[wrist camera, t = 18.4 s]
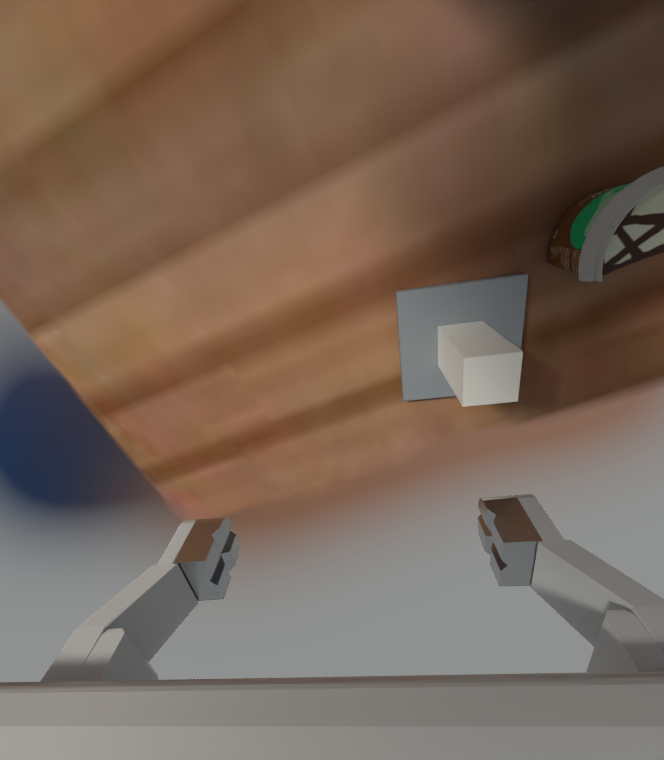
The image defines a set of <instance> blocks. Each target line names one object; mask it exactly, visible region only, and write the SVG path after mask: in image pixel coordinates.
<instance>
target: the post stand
mask: <svg viewBox="0 0 664 760" xmlns="http://www.w3.org/2000/svg"><path fill="white" fill-rule="evenodd" d="M528 275H529V274H525V273H521V274H514V275H507V276H500V277H492V278H485V279H478V280H471V281H464V282H456V283H449V284H442V285H435V286H427V287H420V288H413V289H406V290H398V291H396V304H397V320H398V335H399V350H400V365H401V381H402V396H403V401H410V400H420V399H430V398H440V397H450V396H456V395H455V393H454V391H453V390H452V388H451V386H450V385H449V383H448V381H447V380H446V378H445V376H444V375H443V373H442V371H441V370H440V368H439V366H438V326H445V325H453V324H461V323H469V322H477V321H483V322H485V323H486V324H487V325H489V326H490V327H491V328H493V329H494V330H495V331H497V332H498V333H499V334H500V335H502V336H503V337H504V338H506V339H507V340H508V341H510V342H511V343H512V344H514V345H515V346H516V347H518V348H519V349H520V350H521V345H522V335H523V325H524V315H525V305H526V295H527V285H528Z"/></svg>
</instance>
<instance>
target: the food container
mask: <svg viewBox="0 0 664 760" xmlns="http://www.w3.org/2000/svg"><path fill="white" fill-rule="evenodd" d="M662 252H664V166H663V167H660V168H658V169H655V170H653V171H651V172H649V173H647V174H645V175H643V176H641V177H640V178H638V179H637V180H635V181H634V182H632V183H629V184H625V185H620V186H616V187H612V188H608V189H604V190H600V191H596V192H594V193H591V194H588V195H586V196H585V197H583V198H581V199H579V200H578V201H577V202H575V203H574V204H573V205H572V206H570V207H569V208H568V209H567V210H566V211H565V213H564V214H563V215H562V216H561V217H560V219H559V220H558V222H557V223H556V225H555V227H554V229H553V231H552V234H551V237H550V239H549V244H548V253H547V257H548V263H549V264H552V265H555V266H557V267H560V268H563V269H565V270H568V271H571V272H574V273H576V274H578V275H579V281H587V282H594V281H599V282H602V275H605V274H608V273H610V272H612V271H614V270H616V269H619V268H621V267H624V266H626V265H629V264H631V263H634V262H637V261H639V260H642V259H645V258H647V257H650V256H653V255H656V254H659V253H662Z"/></svg>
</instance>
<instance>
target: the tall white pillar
mask: <svg viewBox="0 0 664 760" xmlns="http://www.w3.org/2000/svg"><path fill="white" fill-rule="evenodd" d="M522 357H523V351H522V350H520V349H519V348H518V347H516V346H515V345H514V344H512V343H511V342H510V341H508V340H507V339H506V338H504V337H503V336H502V335H500V334H499V333H498V332H497V331H495V330H494V329H493V328H491V327H490V326H489V325H487V324H486V323H485V322H483V321H477V322H469V323H461V324H453V325H445V326H438V366H439V368H440V370H441V371H442V373H443V375H444V376H445V378H446V380H447V381H448V383H449V385H450V386H451V388H452V390H453V391H454V393H455V395H456V396H457V398H458V400H459V401H460V403H461V405H462V406H463V407H465V406H475V405H486V404H496V403H507V402H517V401H518V396H519V386H520V376H521V367H522Z"/></svg>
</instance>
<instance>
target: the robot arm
mask: <svg viewBox="0 0 664 760" xmlns="http://www.w3.org/2000/svg"><path fill="white" fill-rule="evenodd" d="M478 508H479V510H480V512H481V515H480V516H479V517H478V530H479V536H480V539H481V542H482V545H483V548H484V550H485V551H486V552H487V553H489V554H490V555H491V559H490V565H491V567H492V570H493V572H494V574H495V577H496V579H497V582H498V584H499V586H531V588H532V589H533V590H534V591H535V592H536V593H537V594H539V595H540V596H541V597H542V598H543V599H544V600H545V601H546V602H547V603H548V604H549V605H550V606H551V607H552V608H554V610H556V611H557V612H558V613H559V614H560V615H561V616H562V617H563V618H564V619H565V620H566V621H567V622H569V624H570V625H571V626H573V627H574V628H575V629H576V630H577V631H578V632H579V633H580V634H581V635H582V636H583V637H584V638H585V639H587V641H589V642H590V643H591V644H592V645H593V646H594V651H593V653H592V656H591V660H590V663H589V665H588V668H587V673H542V674H541V673H538V674H537V673H536V674H482V675H481V674H478V675H477V674H476V675H419V676H418V675H416V676H360V677H358V676H357V677H356V676H355V677H302V678H301V677H299V678H298V677H297V678H243V679H186V680H158V676H157V673H156V672H155V671H154V669H153V668H152V667H151V665H150V664H149V663H148V662H149V661H150V660H151V659H152V658H153V656H154V655H155V654H156V653H157V652H158V650H159V649H160V648H161V647H162V645H163V644H164V643H165V642H166V641H167V640H168V638H169V637H170V636H171V635H172V633H173V632H174V631H175V630H176V629H177V628H178V626H179V625H180V624H181V623H182V622H183V620H184V619H185V618H186V617H187V616H188V614H189V613H190V612H191V611H192V610H193V608H194V607H195V606H196V605H197V603H198V601H204V600H217V599H224V597H225V594H226V591H227V588H228V585H229V582H230V579H231V577H230V574H229V571H230V570H231V569H232V568H233V566H235V564H236V561H237V558H238V551H239V544H238V539H237V536H236V534H234V533H233V532H231V531H230V530H231V527H232V524H231V522H230V520H229V518H214V519H198V520H185V521H183V522H182V523H181V524H180V526H179V527H178V529H177V531H176V533H175V534H174V536H173V538H172V540H171V541H170V543H169V545H168V547H167V549H166V551H165V552H164V554H163V555H162V557H161V559H160V561H159V563H158V564H157V565H153V566H151V567H150V568H149V569H148V570H146V571H145V572H144V573H143V574H142V575H140V576H139V577H138V578H137V579H135V580H134V581H133V582H132V583H131V584H129V585H128V586H127V587H126V588H125V589H123V590H122V591H121V592H120V593H119V594H118V595H116V596H115V597H114V598H112V599H111V600H110V601H109V602H108V603H106V604H105V605H104V606H103V607H102V608H100V609H99V610H98V611H97V612H96V613H94V614H93V615H92V616H91V617H89V618H88V619H87V620H86V621H85V622H83V623H82V624H81V625H80V626H78V627H77V628H76V629H75V631H74V633H73V634H72V635H71V637H70V638H69V640H68V641H67V643H66V644H65V646H64V647H63V649H62V650H61V652H60V653H59V655H58V656H57V658H56V659H55V661H54V662H53V663H52V665H51V666H50V668H49V670H48V671H47V672H46V674H45V675H44V677H43V678H42V680H41V681H40V682H4V683H3V682H1V683H0V760H664V599H663V598H661V597H660V596H658V595H657V594H655V593H653V592H652V591H650V590H649V589H647V588H646V587H644V586H642V585H641V584H639V583H638V582H636V581H634V580H633V579H631V578H630V577H628V576H626V575H624V574H623V573H622V572H620V571H619V570H617V569H615V568H614V567H612V566H611V565H609V564H608V563H606V562H604V561H603V560H601V559H600V558H598V557H596V556H595V555H593V554H592V553H590V552H588V551H587V550H585V549H584V548H582V547H581V546H579V545H577V544H576V543H574V542H573V541H571V540H564V539H563V537H562V536H561V534H560V533H559V531H558V530H557V528H556V527H555V525H554V524H553V522H552V521H551V519H550V518H549V516H548V515H547V513H546V512H545V511H544V509H543V508H542V506H541V505H540V503H539V502H538V500H537V499H536V497H535V496H534V495H532V494H526V495H514V496H501V497H489V498H480V499H479V504H478Z"/></svg>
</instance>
